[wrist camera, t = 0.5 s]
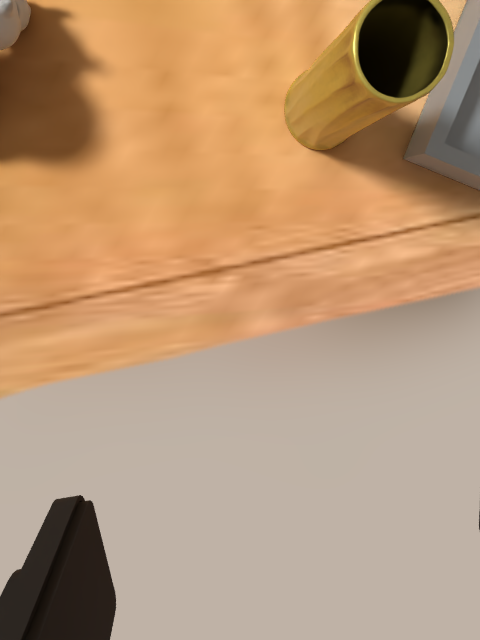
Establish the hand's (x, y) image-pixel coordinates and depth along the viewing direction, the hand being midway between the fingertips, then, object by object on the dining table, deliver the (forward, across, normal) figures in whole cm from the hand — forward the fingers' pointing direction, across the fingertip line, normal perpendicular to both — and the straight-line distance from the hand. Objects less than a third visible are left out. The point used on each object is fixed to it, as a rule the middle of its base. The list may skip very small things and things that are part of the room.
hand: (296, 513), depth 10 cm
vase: (+29, -10, -13) cm, 33 cm away
